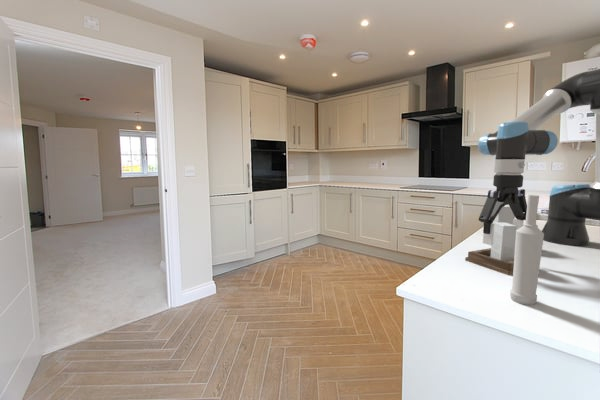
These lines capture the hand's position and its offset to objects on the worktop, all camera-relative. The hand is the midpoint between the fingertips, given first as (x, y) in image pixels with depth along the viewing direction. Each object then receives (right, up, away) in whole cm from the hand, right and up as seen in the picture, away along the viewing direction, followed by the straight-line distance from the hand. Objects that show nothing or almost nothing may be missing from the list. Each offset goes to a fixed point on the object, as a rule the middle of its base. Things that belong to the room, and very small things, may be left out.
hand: (502, 241), depth 97 cm
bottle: (-11, -11, -24) cm, 29 cm away
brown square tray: (0, -7, +1) cm, 7 cm away
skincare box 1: (+14, -4, +24) cm, 28 cm away
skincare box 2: (0, -6, +1) cm, 7 cm away
